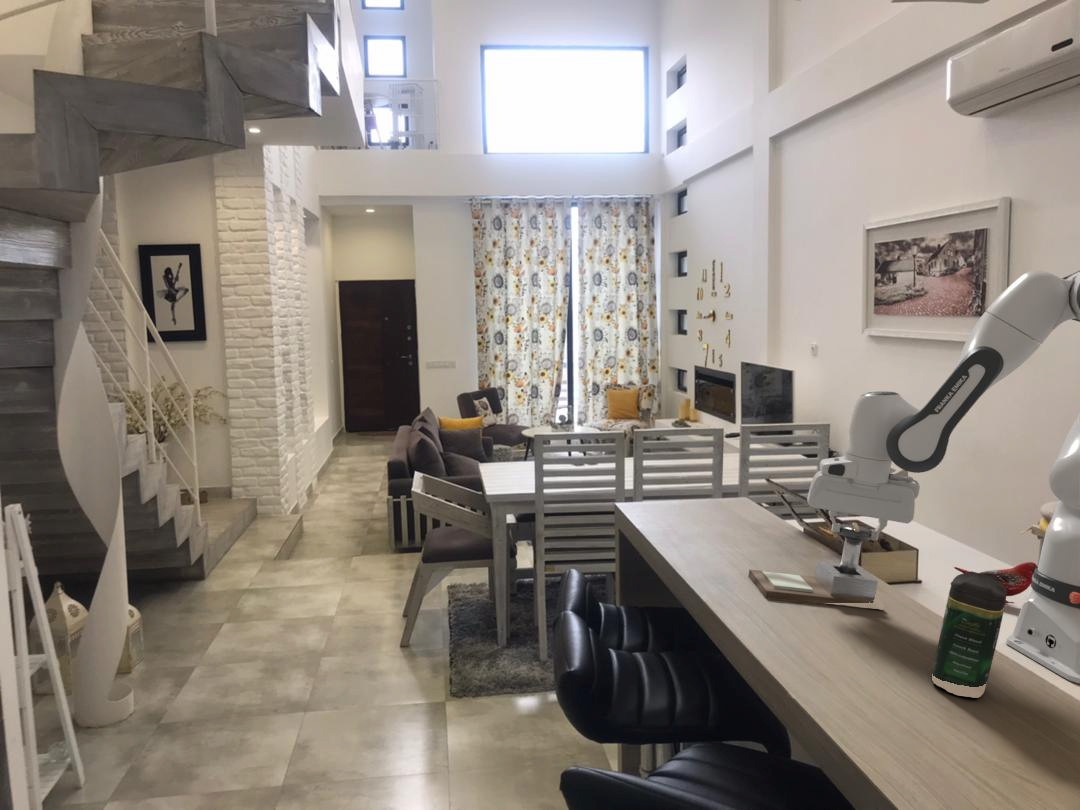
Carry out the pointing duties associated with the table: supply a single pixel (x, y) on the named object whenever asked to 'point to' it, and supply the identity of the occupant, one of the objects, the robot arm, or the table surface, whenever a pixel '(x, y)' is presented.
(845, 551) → the peg
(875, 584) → the grey socket block
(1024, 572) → the decorative bird figurine
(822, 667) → the table surface
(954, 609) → the coffee jar
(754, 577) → the walnut board
